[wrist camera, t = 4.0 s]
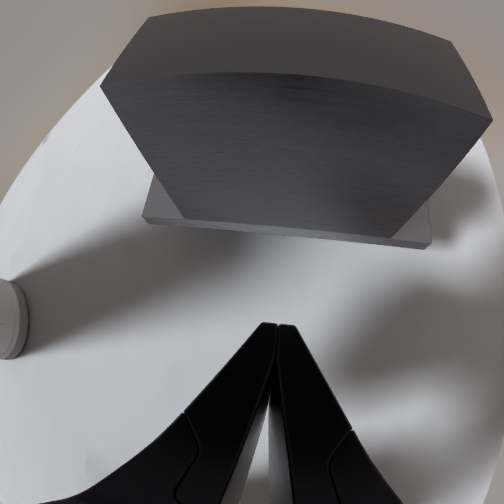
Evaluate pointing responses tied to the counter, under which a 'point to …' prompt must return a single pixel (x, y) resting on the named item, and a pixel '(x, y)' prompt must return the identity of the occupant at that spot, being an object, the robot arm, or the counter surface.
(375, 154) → the lid
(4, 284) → the travel mug
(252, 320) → the counter surface
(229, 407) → the robot arm
